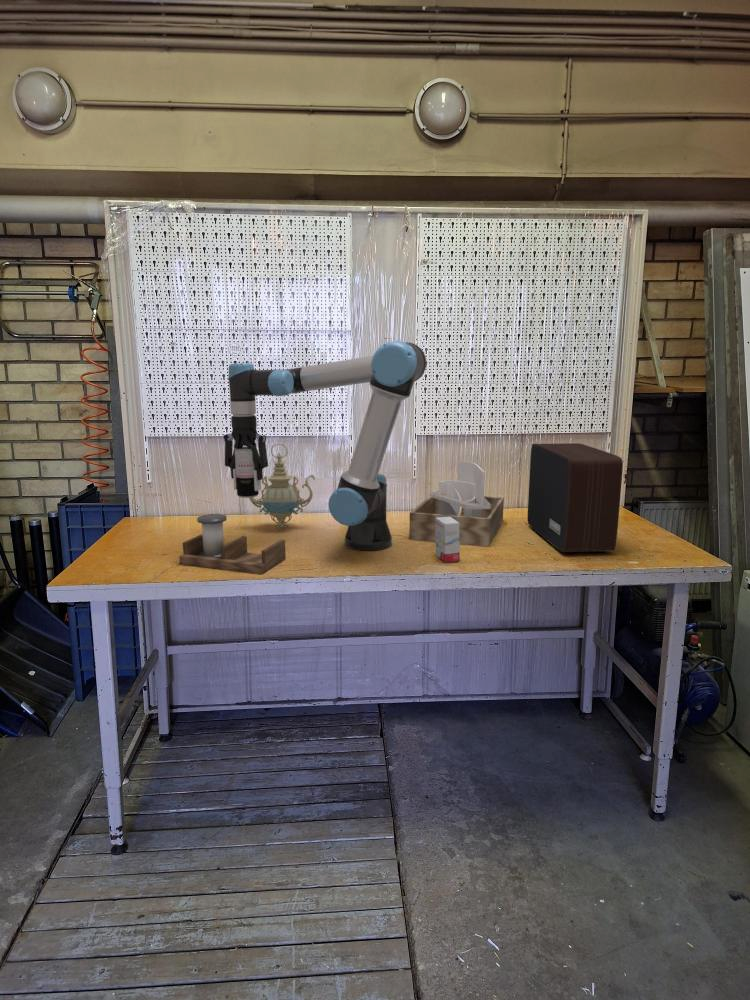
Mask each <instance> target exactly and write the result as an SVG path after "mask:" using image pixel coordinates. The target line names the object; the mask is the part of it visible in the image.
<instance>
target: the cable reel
mask: <svg viewBox="0 0 750 1000" xmlns="http://www.w3.org/2000/svg"><path fill="white" fill-rule="evenodd" d="M227 520H228V518H227V515H225V514H219V513H210V514H209V513H208V514H204V515H200V516H198V517H197V518H196V522H197V523H199V524H201V534H202V536H203V551H202V552H200V553H199V555H200V556H204V557H213V558H222V554H221V547H222V546H224V545H225V542H224V541H225V540H224V524H223V523H224V522H226V521H227Z"/></svg>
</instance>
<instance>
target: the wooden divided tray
mask: <svg viewBox="0 0 750 1000" xmlns="http://www.w3.org/2000/svg"><path fill="white" fill-rule="evenodd" d="M247 539H248V537H247V535H242V536H240V537H238V538H236V539H233V540H231V541H230V542H228V543H226V544H224V546H222V547H221V554H222V558H213V557H204V556H200V555H199V553H200V552H202V551H203V536H202V533H201V534H199V535H197V536H195V537H191V538H190V539H188V540H185V541H183V542H182V554H181V555H179V556H178V557H179V558H178V560H179V565H182V566H183V565H184V566H189V567H190V566H191V567H199V568H208V569H217V570H224V571H231V572H232V571H233V572H238V573H239V572H241V573H248V574H258V575H265V573H267V572H268V570H269V571H270V570H272V569H273V568H275V567H276V566H278V565H279V564H282V562H284V561H286V560H287V556H286V554H287V553H286V552H287V551H286V539H280V540H278V541H276V542H275V543H273V544H271V545H269V546H267V547H266V548H264V549H263V550H260V553H257V552H256V553H255V552H248V540H247ZM285 559H286V560H285Z"/></svg>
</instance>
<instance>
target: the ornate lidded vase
mask: <svg viewBox="0 0 750 1000" xmlns="http://www.w3.org/2000/svg"><path fill="white" fill-rule="evenodd" d="M278 445H280V446H283V448H285V450H286V453H285V454H284V456H282V455H281V453H280V452H279V453H278V454H277V456H275V455H274V454H273V448H274V447H275V446H278ZM270 453H271V456H272V457H273V458H275V459H277V461H275V460H272V462H273V463H274V467H273V470H274V471H273V472H272V474H273V475H272V474H271V475H270V476H269V477H268V475H265V476H264V477H263V479H262V480H261V484H262V485H264V488H263V489H261V490H260V492H261V498H257V499H255V497H250V498H248V499H249V501H250V502H251V504H252V505H254V506H255V507H257V508H259V511H258V512H259V513H262V512H264V515H266V516H267V515H269V516H271V517H270V518H271V520H272V521H273V522H274V523H276V525H275V527H278V528H279V529H281V530H283V529H285V528H286V527H289V525H288V523H289V522H290V521H291V520H292V518H293V516H292V515H293V514H295V515H298V514H299V511H300V512H301V513H302V512H304V510H303V508H304V507H306V506H308V505H309V504H310V502H311V501H312V499H313V490H312V488H311V486H310V485H309V484H308V479H309V478H312V479H313V481H315V480H316V477H315V475H314V474H310V475H308V476H307V477H306V479H305V483H303V484H302V485H301V488H302V489H304V488H305V487H307V488H308V490H309V491H308V492H309V496H308V498H306V499H305V498H302V497H301V496H300V493H301V490H300V489H299V488H298V487H297V485H298V483H299V479H298V477H297V476H295V475H293V477H292V475H289V474H288V473H287V472H288V471H287V470H286V467H287V466H285V463H286V460H284V461H282V459H283V458H285V457H286V456H287V454H288V448H287V446H286V445H284V444H283V443H275V444H274V445H272V447H271V448H270ZM267 478H268V479H267ZM291 479H293V484H290V482H289V481H290V480H291ZM267 480H268V481H269V482H270V483H271V484H270V485H269V484H268V481H267ZM262 506H263V507H262ZM295 509H296V510H295ZM287 517H288V520H287ZM276 520H277V521H276ZM286 520H287V521H286Z"/></svg>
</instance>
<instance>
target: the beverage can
mask: <svg viewBox="0 0 750 1000" xmlns="http://www.w3.org/2000/svg"><path fill="white" fill-rule="evenodd" d="M235 449H236V448H235ZM235 466H236V483H237V490H236V495H237V496H238V498H242V499H249V498H250V497H253V498H255V497H258V495H259V491H260V490H259V491H255V487H254V470H255V469H256V468H255V465H254V462H253V455H252V449H248V448H247V446H243V447H242V448H240V449H236V450H235Z"/></svg>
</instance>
